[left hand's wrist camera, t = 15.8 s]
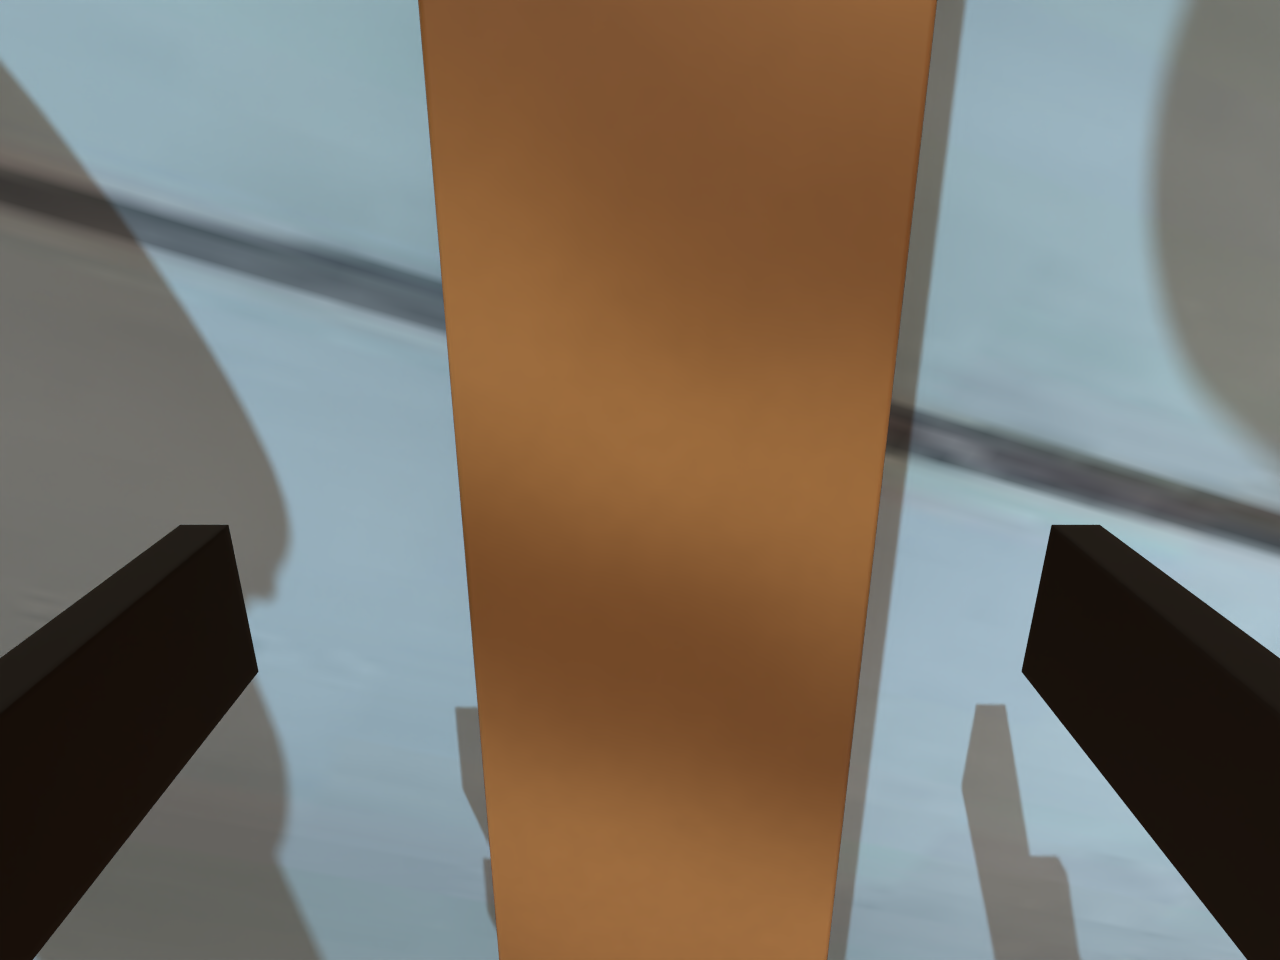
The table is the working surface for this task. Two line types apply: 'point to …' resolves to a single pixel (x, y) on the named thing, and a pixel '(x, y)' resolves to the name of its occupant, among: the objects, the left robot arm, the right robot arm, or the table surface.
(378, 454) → the table surface
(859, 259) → the bar
